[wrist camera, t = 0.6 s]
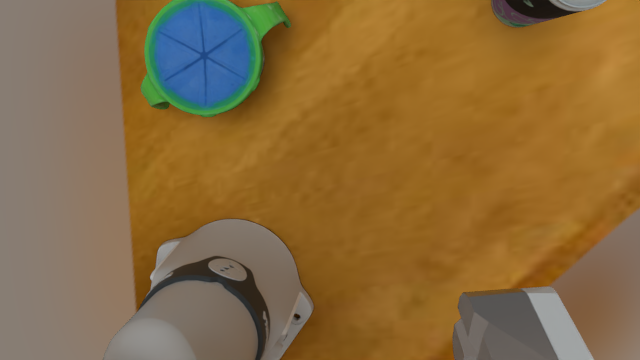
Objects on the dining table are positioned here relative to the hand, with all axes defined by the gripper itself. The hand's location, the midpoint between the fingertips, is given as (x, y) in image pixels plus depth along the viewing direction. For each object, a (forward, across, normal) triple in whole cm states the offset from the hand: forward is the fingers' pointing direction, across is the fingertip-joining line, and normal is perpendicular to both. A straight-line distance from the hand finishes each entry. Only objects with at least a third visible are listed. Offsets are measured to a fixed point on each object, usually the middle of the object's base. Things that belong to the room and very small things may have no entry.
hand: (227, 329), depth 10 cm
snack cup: (+49, -5, -16) cm, 52 cm away
